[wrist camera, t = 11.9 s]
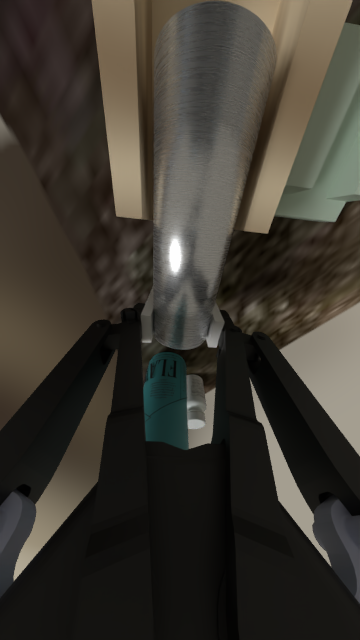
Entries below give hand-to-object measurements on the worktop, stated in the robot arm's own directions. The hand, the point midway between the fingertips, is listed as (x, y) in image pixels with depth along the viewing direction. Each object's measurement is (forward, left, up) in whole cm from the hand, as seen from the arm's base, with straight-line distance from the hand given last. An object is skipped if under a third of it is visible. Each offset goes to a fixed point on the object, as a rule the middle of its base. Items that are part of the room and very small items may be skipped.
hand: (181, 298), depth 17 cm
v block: (-12, +10, -2) cm, 16 cm away
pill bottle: (+19, +4, -2) cm, 19 cm away
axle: (-6, 0, +5) cm, 8 cm away
